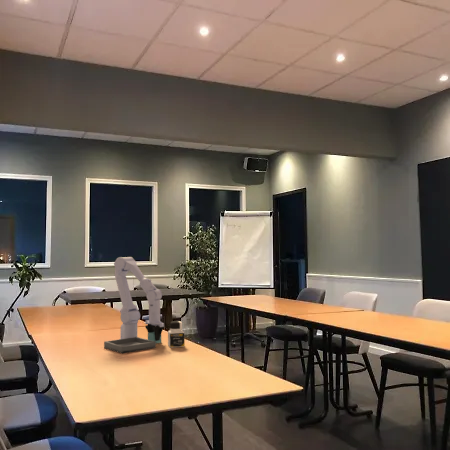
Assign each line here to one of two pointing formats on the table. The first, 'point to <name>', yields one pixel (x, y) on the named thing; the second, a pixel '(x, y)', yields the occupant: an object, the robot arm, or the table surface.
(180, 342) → the medicine bottle
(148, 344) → the charcoal tray
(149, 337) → the teal block
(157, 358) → the table surface
